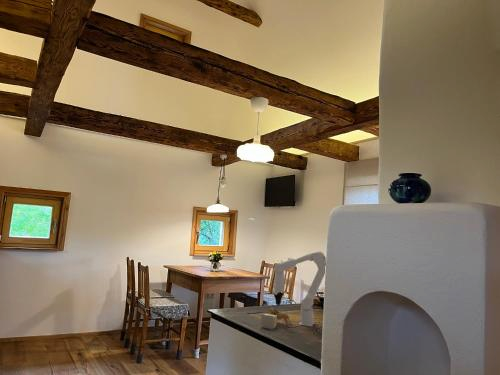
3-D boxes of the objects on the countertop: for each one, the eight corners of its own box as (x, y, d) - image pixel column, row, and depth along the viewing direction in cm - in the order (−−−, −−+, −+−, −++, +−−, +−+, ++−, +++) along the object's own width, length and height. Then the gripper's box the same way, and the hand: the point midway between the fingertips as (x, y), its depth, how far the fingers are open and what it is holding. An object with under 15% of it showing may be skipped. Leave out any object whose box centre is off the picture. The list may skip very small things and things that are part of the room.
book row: (265, 324, 221) (265, 312, 221) (276, 326, 218) (276, 313, 219) (260, 327, 214) (261, 314, 215) (272, 329, 211) (273, 316, 212)
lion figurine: (266, 324, 222) (267, 308, 223) (268, 322, 227) (269, 306, 228) (291, 327, 218) (292, 311, 219) (293, 325, 223) (293, 309, 224)
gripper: (276, 280, 242) (275, 302, 241) (269, 283, 229) (268, 306, 227) (287, 281, 239) (286, 303, 238) (280, 284, 226) (279, 307, 225)
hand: (278, 304), depth 232 cm, fingers closed
